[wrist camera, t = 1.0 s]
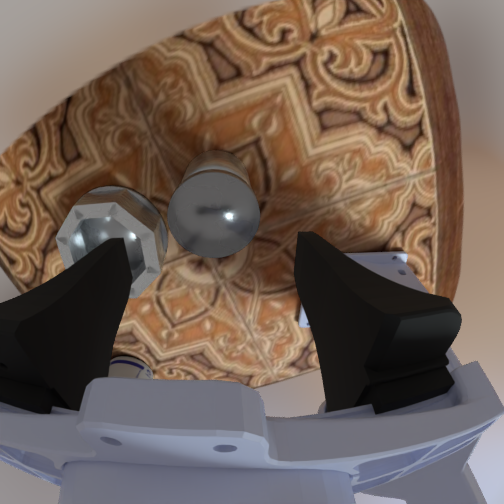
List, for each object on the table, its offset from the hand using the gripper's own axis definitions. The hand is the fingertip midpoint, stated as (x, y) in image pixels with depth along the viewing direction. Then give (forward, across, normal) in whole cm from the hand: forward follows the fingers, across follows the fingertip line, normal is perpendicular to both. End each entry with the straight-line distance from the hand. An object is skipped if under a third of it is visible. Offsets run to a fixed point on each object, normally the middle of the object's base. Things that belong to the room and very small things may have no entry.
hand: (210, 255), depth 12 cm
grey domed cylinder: (+9, 0, 0) cm, 9 cm away
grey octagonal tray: (+9, +8, +4) cm, 13 cm away
